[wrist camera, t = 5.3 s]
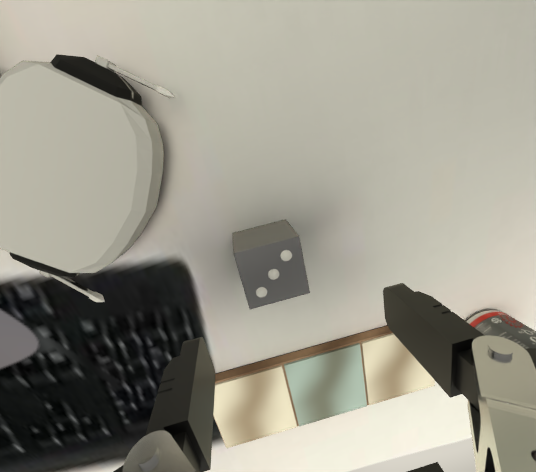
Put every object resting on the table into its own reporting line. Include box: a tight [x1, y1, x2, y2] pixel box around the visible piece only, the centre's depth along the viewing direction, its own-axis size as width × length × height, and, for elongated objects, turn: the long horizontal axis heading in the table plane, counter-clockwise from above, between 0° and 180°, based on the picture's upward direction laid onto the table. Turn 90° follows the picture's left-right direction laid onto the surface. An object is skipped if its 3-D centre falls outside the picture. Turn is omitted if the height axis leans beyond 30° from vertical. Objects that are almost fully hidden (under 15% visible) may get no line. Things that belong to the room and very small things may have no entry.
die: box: [233, 219, 310, 309], centre depth 18 cm, size 4×4×4 cm
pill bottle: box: [466, 310, 536, 349], centre depth 21 cm, size 6×6×10 cm
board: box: [213, 326, 435, 448], centre depth 24 cm, size 21×8×1 cm, turn 102°
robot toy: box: [0, 55, 175, 302], centre depth 14 cm, size 12×4×15 cm
